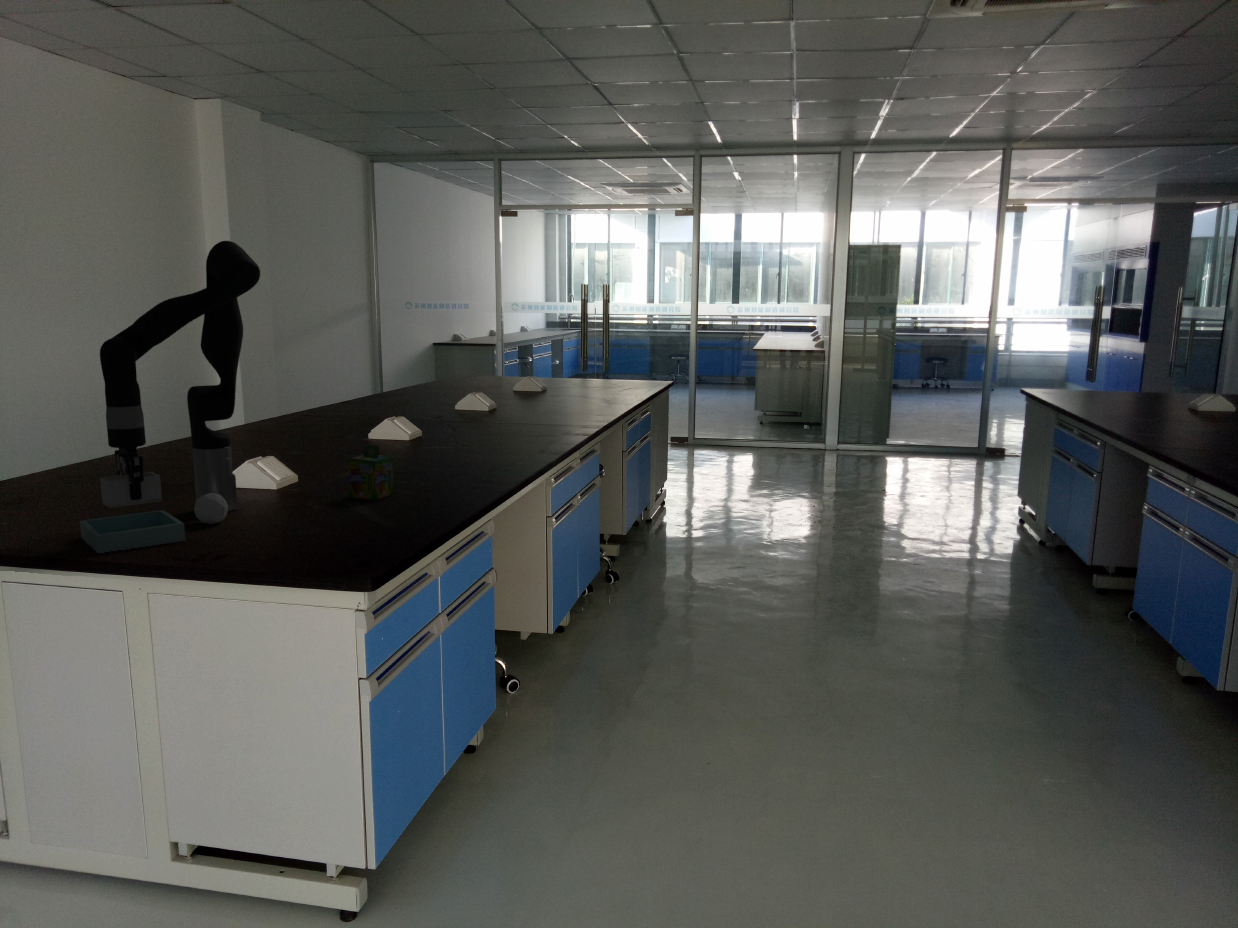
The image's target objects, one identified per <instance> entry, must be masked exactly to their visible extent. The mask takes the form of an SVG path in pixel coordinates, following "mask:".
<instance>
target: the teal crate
mask: <svg viewBox="0 0 1238 928" xmlns="http://www.w3.org/2000/svg"><path fill="white" fill-rule="evenodd" d="M79 527H80V528H79V529H80V530H79V531H80V538H81V539H82V540H83V541H84V543H85V544H87V545H88V546H89V545H90V546H91V547H92V548H93V549H94V550H95V551H96V552H97V553H102V554H105V553H104V552H109V553H111V552H110V551H115V552H117V551H116V550H122V551H127V550H126V549H128V550H132V549H131V548H135V549H140V548H139V547H141V548H145V547H146V546H148V547H152V546H153V545H154V546H159V545H160V544H161V545H165V544H173V543H178V542H186V532H185V523H184V522H182V520H179V519H178V518H177V517H175V516H173V515H172V514H170V513H169V512H167V511H165V509H160V510H153V511H152V510H151V511H145V512H143V511H142V512H139V513H138V512H137V513H130V514H120V515H116V516H114V515H113V516H107V517H98V518H92V519H91V518H90V519H83V520H79ZM90 546H89V547H90ZM91 547H90V548H91ZM92 548H91V549H92ZM146 548H147V547H146ZM93 549H92V550H93ZM94 550H93V551H94ZM95 551H94V552H95ZM96 552H95V553H96ZM97 553H96V554H97Z"/></svg>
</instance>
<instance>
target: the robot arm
mask: <svg viewBox="0 0 1238 928" xmlns="http://www.w3.org/2000/svg"><path fill="white" fill-rule="evenodd" d="M205 261H206V262H205V273H206V274H205V277H206V278H205V280H206V283H205V284H206V285H205V286H206V287H205V288H202V289H201V290H198V291H195V292H192V293H189V294H184V295H179V296H174V297H171V298H168V299H166V300H163V301H161V302H159V303H157V304H156V305H154V306H153V307H151V308H150V309H149V310H148V311H146V312H144V313H143V314H142V315H140V316H139V317H138V318H137V319H136V320H135V321H134V322H133V323H132V324H131V325H129V326H127V328H125V329H123V330H122V331H120V332H119V333H117V334H116V335H114V336H113V337H111V338H108V339H107V340H105V341H104V342H103V343H102V344H101V345H100V349H99V359H100V367H101V372H102V376H103V381H104V396H105V406H106V407H105V409H106V410H105V411H106V412H105V421H106V430H107V431H106V432H107V443H108V444H107V445H108V446H109V448H113V449H114V448H115V449H117V450H114V457H115V464H116V471H117V472H116V474H117V476H120V475H127V477H128V483H129V488H130V498H131V500H139V499H141V498H142V495H141V483H142V481H144V477H143V473H144V466H143V465H144V461H143V460H144V458H143V456H142V455H141V454H140V453H138V449H137V448H138V447H143V446H145V445H146V443H147V441H146V439H147V438H146V430H145V429H146V428H145V417H144V412H143V406H142V400H141V399H142V398H141V388H140V385H139V382H138V378H137V375H138V374H137V361H138V360H139V359H141V358H142V357H143V356H144V355H146V354H147V353H148V352H149V351H150V350H151V349H153V348H154V347H156V346H157V345H159V344H161V343H163V342H164V341H166V340H167V339H169V338H170V337H171V336H173V335H174V334H175V333H177V332H178V331H180V330H181V329H182V328H183V327H185V326H187V325H188V324H190V323H191V322H193V321H194V320H196V319H198V318H200V317H201V316H203V322H202V324H203V325H202V329H201V335H200V336H201V339H200V349H201V352H202V354H203V356H204V358H205V359H206V360H207V361H208V363H209V364H210V365H211V367H212V368H213V369H214V370H215V372H216V374H217V375H218V377H219V379H220V382H219V383H218V384H215V385H214V384H212V385H211V384H210V385H195V386H191V387H189V389H188V391H187V396H186V398H187V399H186V402H187V409H188V416H189V417H188V418H189V425H190V435H191V444H192V445H191V447H192V449H191V450H192V458H193V459H192V460H193V461H192V462H193V473H194V474H193V475H194V487H195V489H194V490H195V501H196V500H197V499H199V498H200V497H201V496H202V495H206V494H209V493H214V494H219V495H221V496H222V497H223V498H224V499H225V500H226V502H227V505H228V511H227V513H229V512H233V511H236V510H238V496H237V480H236V479H237V477H236V474H234V473H233V459H232V457H233V456H232V444H231V443H232V441H231V437H230V435H229V434H226V433H223V432H219V431H215V430H213V429H212V428H209V427H208V426H207V424H206V422H211V421H212V422H213V421H214V422H215V421H225V420H229V419H231V418H233V415H234V413H235V407H236V392H237V391H236V390H237V374H238V367H239V362H240V355H241V350H242V345H243V338H244V325H243V324H244V323H243V319H242V315H241V310H240V305H239V302H238V297H241V296H242V295H244V294H245V293H247V292H249V291H250V290H252V289H253V288H254V287H255V286H256V285H257V284H258V282H259V281H260V277H261V269H260V267H259V265H258V264H257V262H255V261H254V259H253V258H252V257H251V256H250V255H249V254H248V253H247V251H246V250H244V249H243V248H242V247H241V246H240V245H239V244H237V243H236V242H233V241H232V240H221V241H219V242H217V243H216V244H214V245H213V246H212V247H211V249H210V250H209V252H208V253H207V256H206V260H205ZM134 474H136V475H137V477H134Z"/></svg>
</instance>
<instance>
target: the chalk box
mask: <svg viewBox="0 0 1238 928" xmlns="http://www.w3.org/2000/svg"><path fill="white" fill-rule="evenodd" d="M370 450H373V451H374V453H373V454H372V453H369V451H370ZM363 452H364V453H363V455H358V456H354V457H349V458H348V460H347V461H348V497H349V498H351V499H359V500H365V501H366V500H367V501H373V502H375V501H377V500H381V499H384V498H386V497H391V496H393V495H394V487H393V486H394V482H393V481H394V480H393V479H394V477H393V475H394V472H393V471H394V470H393V468H394V467H393V462H394V461H393V457H392V456H389V455H382V454H380V453H379V452H380V446H379V445H374V444H373V445H370V444H366V445H365V446H364V451H363Z"/></svg>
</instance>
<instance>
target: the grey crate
mask: <svg viewBox="0 0 1238 928" xmlns="http://www.w3.org/2000/svg"><path fill="white" fill-rule="evenodd" d="M134 477H137V475H136V474H134ZM143 477H144V481H142V483H141V495H142V498H141V499H139V500H131V498H130V488H129V483H128V477H127V475H120V476H118V475H113V476H105V477H100V478H99V480H100V481H99V482H100V490H101V500H102V501H101V502H102V504H103V505H104V506H106V507H107V508H110V509H111V508H112V509H113V508H118V507H125V506H134V505H140V504H141V505H142V504H149V503H150V504H151V503H156V502H163V498H162V497H163V496H162V485H161V475H159V474H157V473H155V472H153V471H149V472H143Z"/></svg>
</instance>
